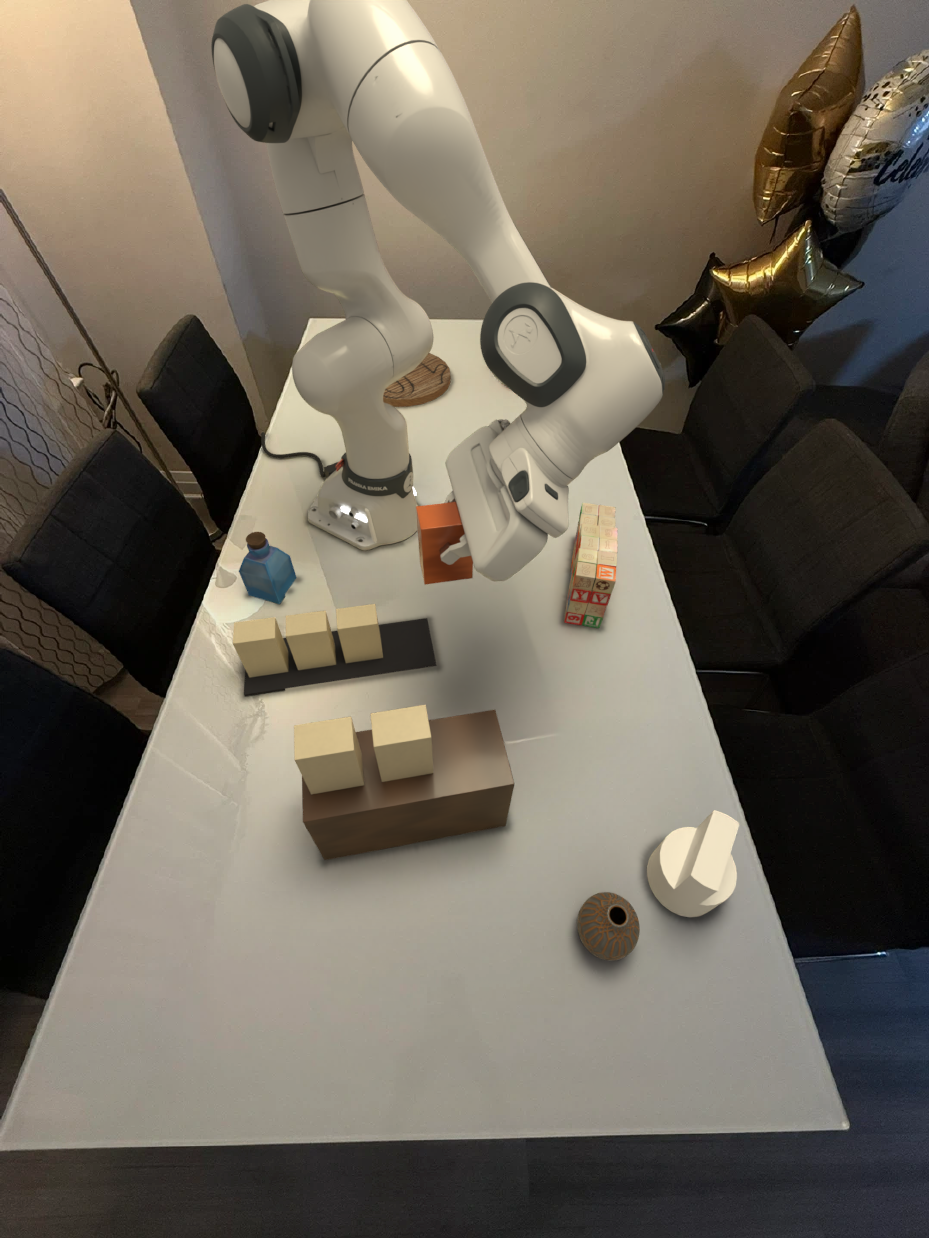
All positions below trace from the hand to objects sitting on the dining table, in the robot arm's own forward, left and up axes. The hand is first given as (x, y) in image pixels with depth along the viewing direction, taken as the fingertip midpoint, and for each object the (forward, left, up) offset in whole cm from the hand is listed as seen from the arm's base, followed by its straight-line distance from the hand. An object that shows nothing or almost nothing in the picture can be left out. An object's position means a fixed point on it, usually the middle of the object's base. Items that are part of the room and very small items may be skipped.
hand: (440, 542), depth 68 cm
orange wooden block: (+1, 0, -5) cm, 5 cm away
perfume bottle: (-36, +6, -30) cm, 47 cm away
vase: (+32, -25, -30) cm, 51 cm away
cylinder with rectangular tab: (+40, -15, -30) cm, 52 cm away
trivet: (-47, +79, -30) cm, 97 cm away
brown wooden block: (+4, -20, -30) cm, 36 cm away
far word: (-17, -2, -30) cm, 35 cm away
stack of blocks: (+15, +30, -30) cm, 45 cm away
